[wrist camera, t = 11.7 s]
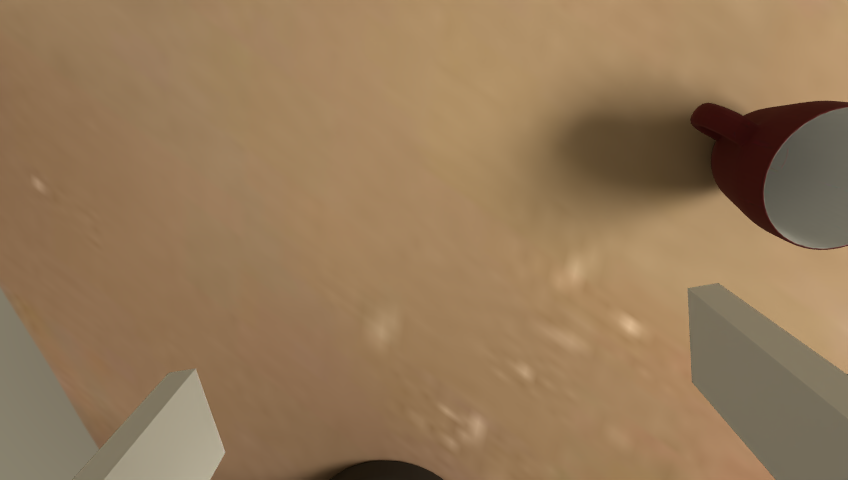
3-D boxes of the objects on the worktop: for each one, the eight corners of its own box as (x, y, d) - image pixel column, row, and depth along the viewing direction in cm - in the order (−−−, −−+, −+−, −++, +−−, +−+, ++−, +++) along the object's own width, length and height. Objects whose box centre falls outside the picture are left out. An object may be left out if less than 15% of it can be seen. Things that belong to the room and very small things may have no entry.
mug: (631, 168, 38) (692, 202, 29) (690, 60, 36) (778, 59, 27) (757, 221, 39) (855, 271, 30) (822, 119, 37) (952, 139, 27)
